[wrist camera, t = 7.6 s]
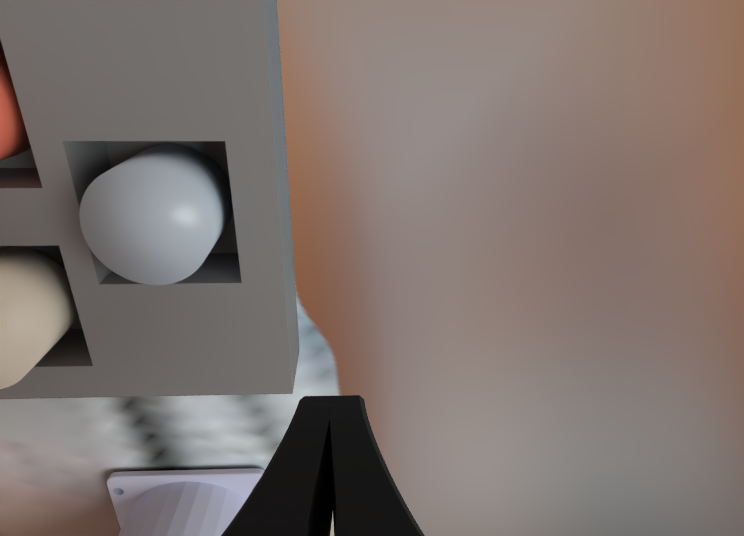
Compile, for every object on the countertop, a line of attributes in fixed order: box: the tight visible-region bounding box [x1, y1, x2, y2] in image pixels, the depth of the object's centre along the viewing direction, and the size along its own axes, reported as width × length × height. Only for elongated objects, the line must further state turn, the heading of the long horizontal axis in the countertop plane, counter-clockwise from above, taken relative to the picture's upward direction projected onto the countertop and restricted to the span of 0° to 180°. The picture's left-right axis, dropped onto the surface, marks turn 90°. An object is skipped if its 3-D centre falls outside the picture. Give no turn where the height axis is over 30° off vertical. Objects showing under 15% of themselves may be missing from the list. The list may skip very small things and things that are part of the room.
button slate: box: [79, 144, 233, 285], centre depth 17 cm, size 4×4×3 cm
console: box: [0, 0, 299, 399], centre depth 18 cm, size 15×14×3 cm
